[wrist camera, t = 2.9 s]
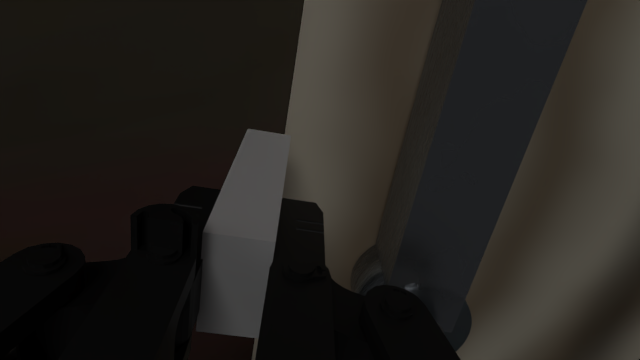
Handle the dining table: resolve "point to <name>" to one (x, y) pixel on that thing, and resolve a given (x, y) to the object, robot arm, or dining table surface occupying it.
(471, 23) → the swing link
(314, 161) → the pivot plate
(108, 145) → the dining table surface
